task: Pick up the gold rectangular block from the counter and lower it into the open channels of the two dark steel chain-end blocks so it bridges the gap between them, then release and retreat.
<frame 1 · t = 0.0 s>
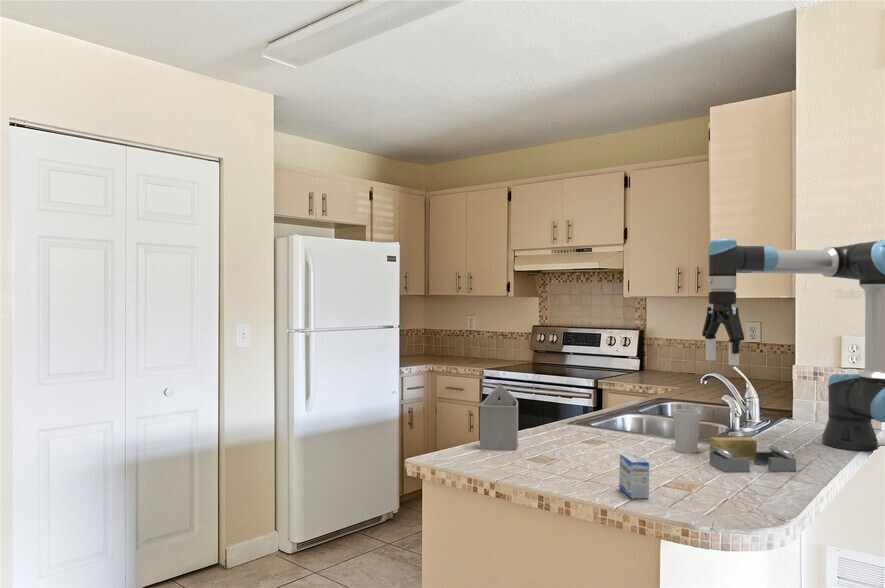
hand: (721, 362, 187), 28 cm above the worktop, fingers open, 13 cm apart
cup: (686, 451, 195), on the worktop
chain end b: (734, 467, 175), on the worktop
chain end a: (769, 467, 176), on the worktop
planter: (507, 448, 197), on the worktop
medicine box: (633, 494, 151), on the worktop
gold rectangular block: (733, 459, 185), on the worktop
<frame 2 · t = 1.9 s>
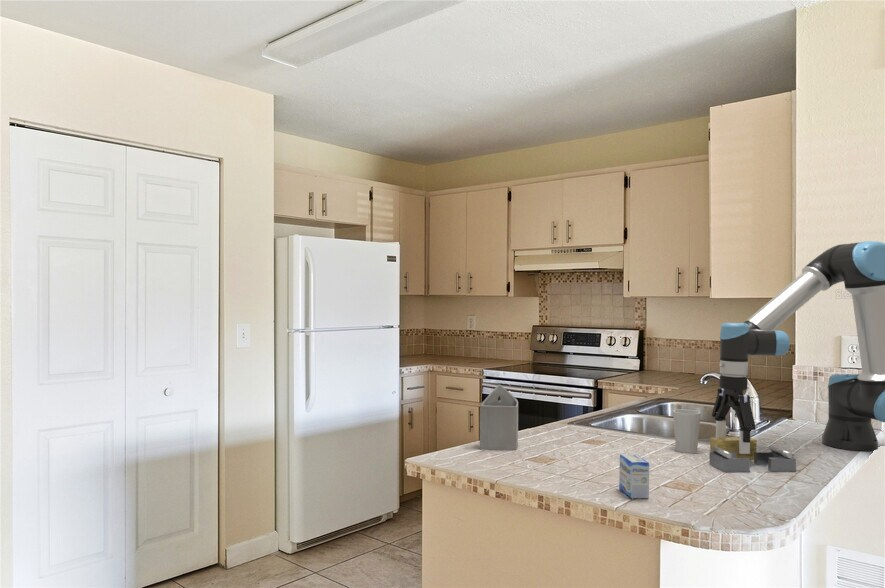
hand: (732, 447, 185), 3 cm above the worktop, fingers open, 13 cm apart
nothing on the worktop moved.
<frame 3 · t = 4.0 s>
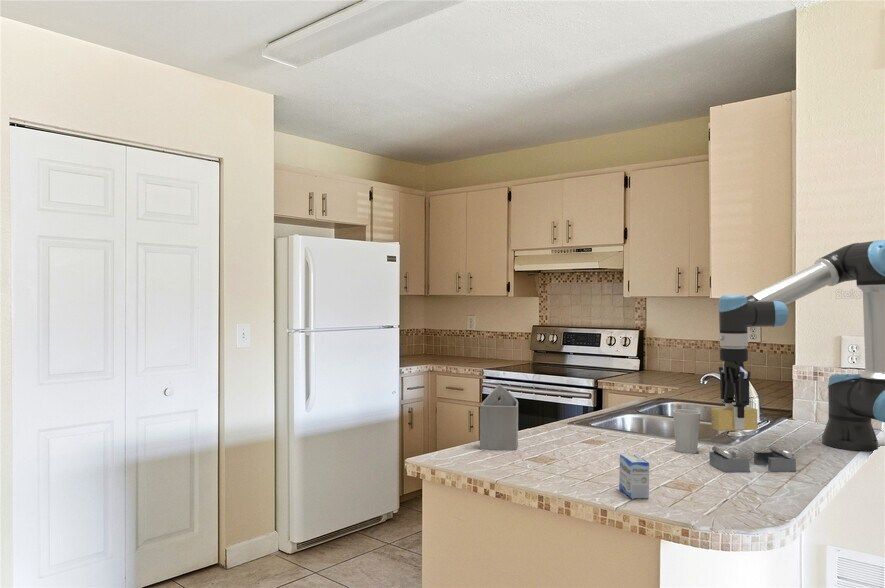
hand: (734, 426, 186), 9 cm above the worktop, fingers closed on gold rectangular block, 4 cm apart
gold rectangular block: (734, 428, 186), point 9 cm above the worktop, touching gripper
everything else where it was.
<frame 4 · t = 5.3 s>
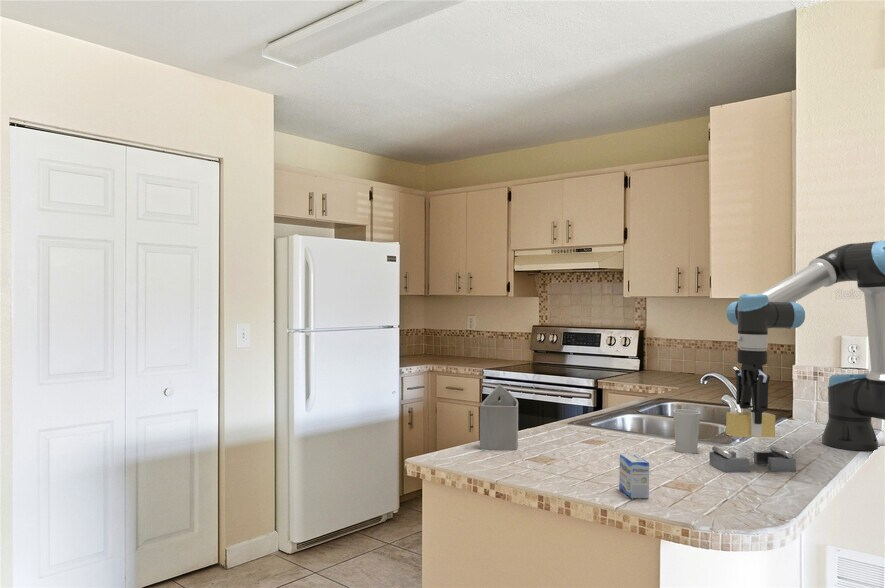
hand: (751, 433, 175), 10 cm above the worktop, fingers closed on gold rectangular block, 4 cm apart
gold rectangular block: (750, 435, 175), point 9 cm above the worktop, touching gripper
everything else where it was.
when the fingers open (1 cm above the worktop, at t = 6.7 s): gold rectangular block stays where it is, on the worktop.
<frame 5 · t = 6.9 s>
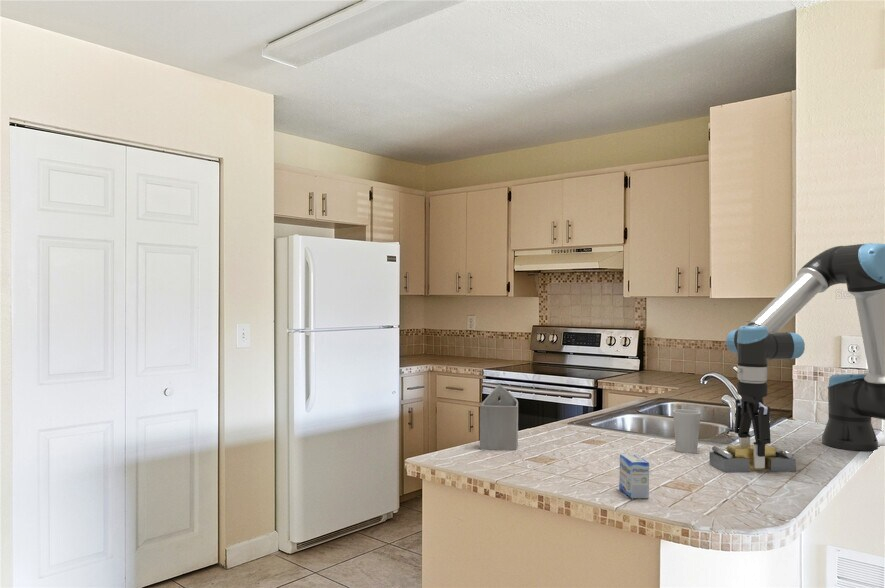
hand: (751, 464, 176), 1 cm above the worktop, fingers open, 7 cm apart
gold rectangular block: (751, 468, 176), on the worktop
everything else where it was.
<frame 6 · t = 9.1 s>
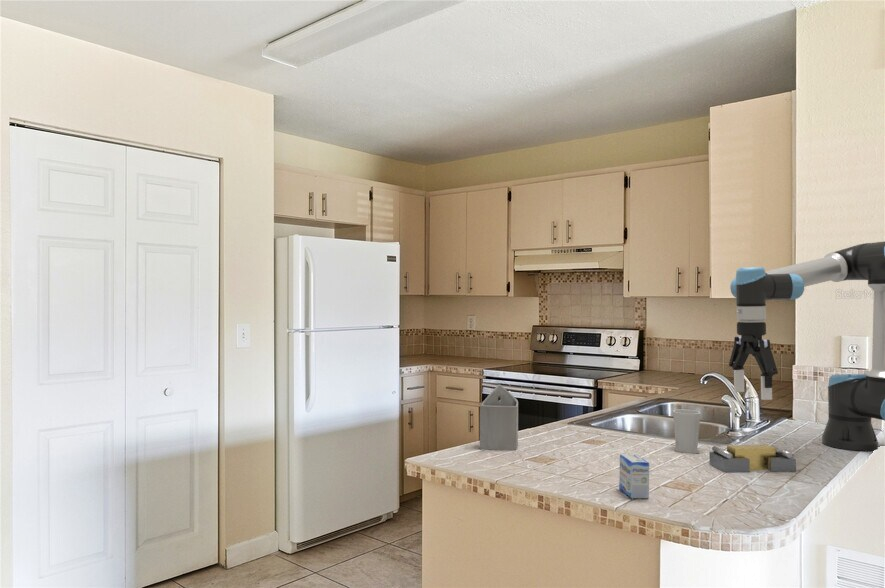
hand: (752, 395, 180), 19 cm above the worktop, fingers open, 13 cm apart
nothing on the worktop moved.
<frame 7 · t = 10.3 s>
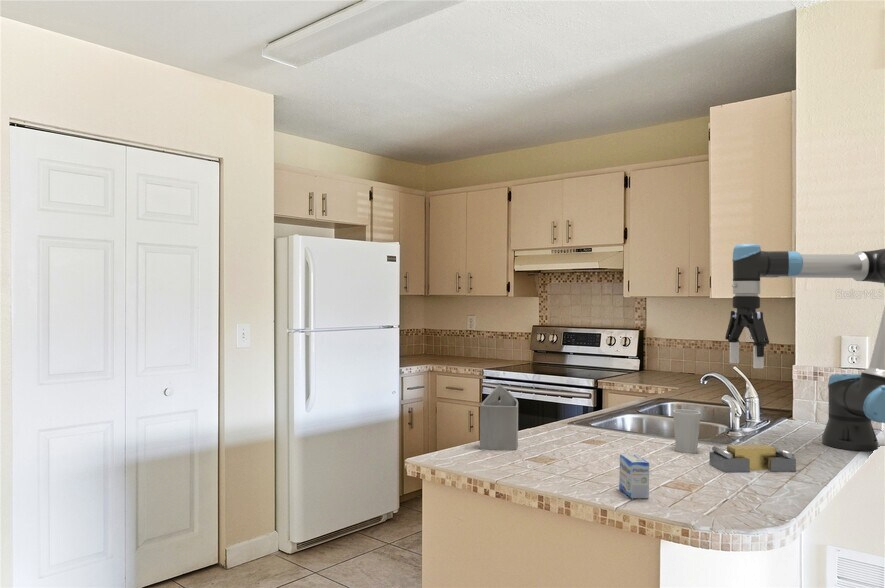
hand: (745, 365, 191), 27 cm above the worktop, fingers open, 13 cm apart
nothing on the worktop moved.
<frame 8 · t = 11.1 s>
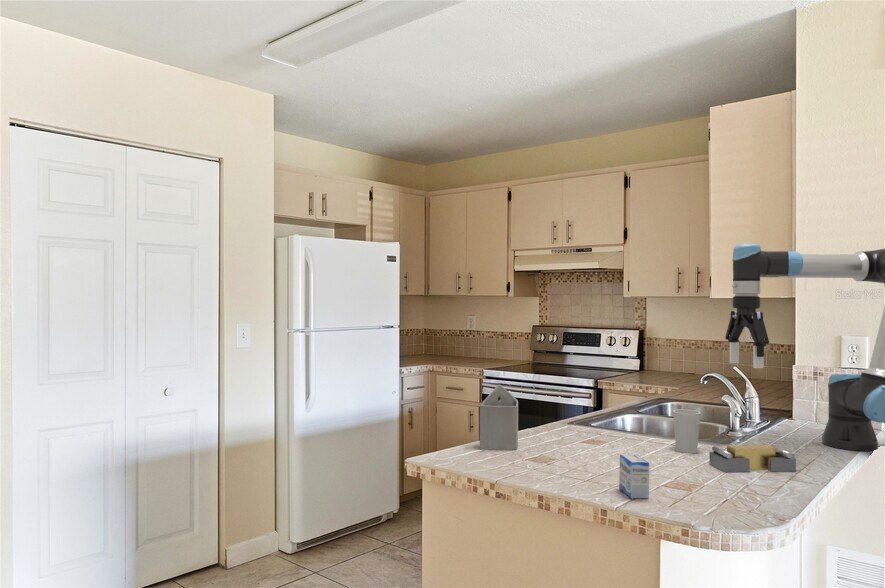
hand: (745, 365, 191), 27 cm above the worktop, fingers open, 13 cm apart
nothing on the worktop moved.
at the end: gold rectangular block 0.2 cm from the target spot, on the worktop; gold rectangular block tilted 0°; the gripper is holding nothing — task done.
